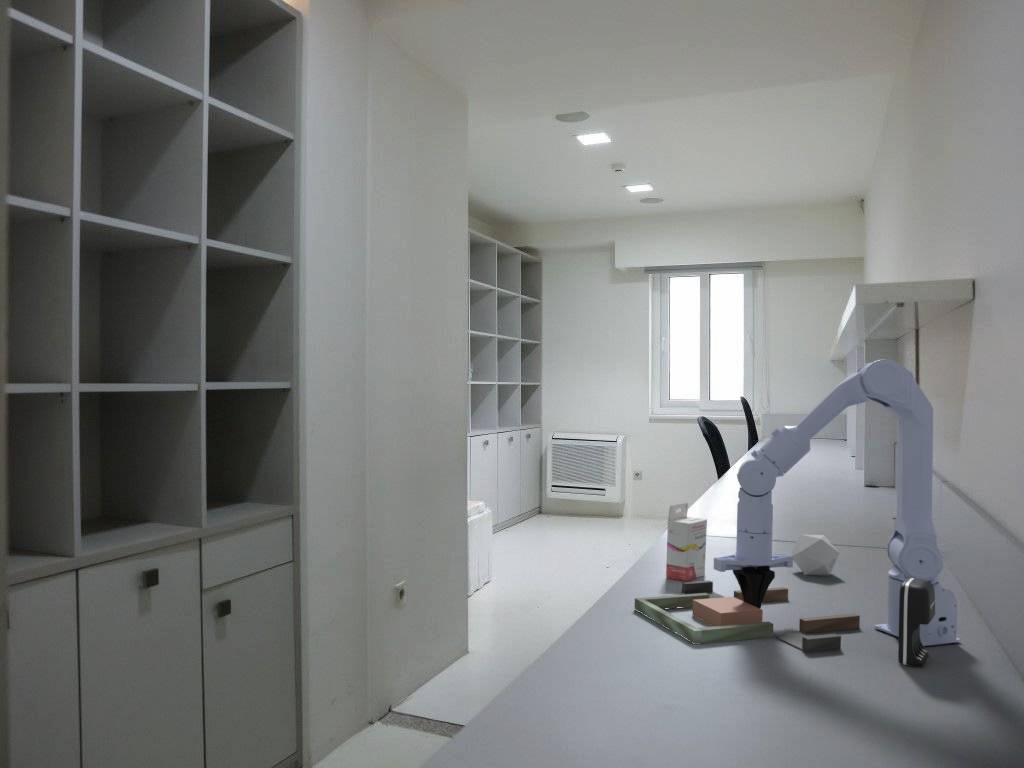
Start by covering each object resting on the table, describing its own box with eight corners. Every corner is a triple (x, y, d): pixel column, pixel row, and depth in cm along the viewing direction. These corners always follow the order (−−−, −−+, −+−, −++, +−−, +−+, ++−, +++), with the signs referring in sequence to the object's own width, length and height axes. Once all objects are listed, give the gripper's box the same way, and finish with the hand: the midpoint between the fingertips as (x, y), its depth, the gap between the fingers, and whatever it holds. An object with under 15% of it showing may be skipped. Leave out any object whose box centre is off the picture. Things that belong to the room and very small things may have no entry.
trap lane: (897, 643, 116) (898, 630, 116) (725, 662, 106) (725, 647, 106) (757, 587, 148) (757, 577, 148) (613, 597, 138) (614, 586, 138)
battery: (927, 671, 104) (929, 588, 104) (897, 665, 106) (899, 583, 106) (935, 658, 110) (937, 579, 110) (906, 652, 112) (908, 574, 112)
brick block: (762, 628, 123) (762, 609, 123) (720, 632, 121) (720, 613, 121) (732, 614, 131) (732, 596, 131) (692, 617, 128) (692, 599, 128)
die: (832, 584, 155) (852, 543, 158) (793, 560, 157) (813, 519, 160) (816, 589, 163) (835, 549, 166) (778, 566, 164) (797, 527, 168)
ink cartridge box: (687, 582, 150) (689, 508, 151) (665, 578, 154) (667, 505, 154) (706, 575, 157) (708, 504, 157) (684, 571, 160) (686, 501, 160)
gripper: (774, 525, 134) (772, 602, 134) (704, 527, 129) (702, 607, 129) (802, 532, 127) (800, 613, 127) (728, 535, 122) (726, 620, 122)
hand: (752, 611), depth 127 cm, fingers closed
